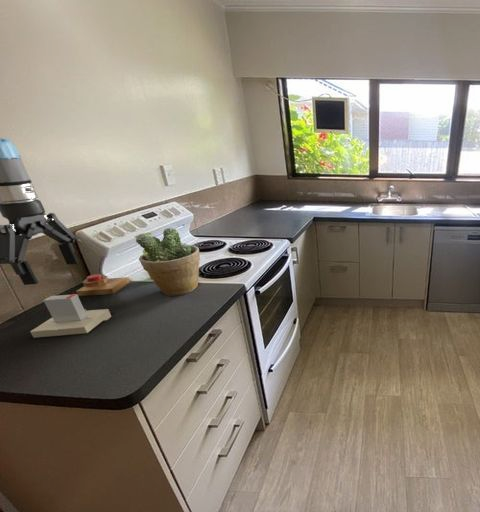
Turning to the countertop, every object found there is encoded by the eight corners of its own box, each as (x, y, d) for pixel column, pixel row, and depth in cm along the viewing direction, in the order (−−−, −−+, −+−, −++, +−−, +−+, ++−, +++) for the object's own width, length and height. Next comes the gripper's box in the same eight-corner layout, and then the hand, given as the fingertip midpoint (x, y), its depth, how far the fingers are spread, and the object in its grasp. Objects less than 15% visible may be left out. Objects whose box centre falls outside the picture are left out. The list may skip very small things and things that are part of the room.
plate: (32, 341, 84) (27, 332, 83) (65, 319, 95) (61, 311, 93) (86, 336, 86) (82, 327, 85) (112, 315, 97) (109, 307, 96)
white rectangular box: (54, 322, 88) (42, 299, 85) (62, 318, 90) (50, 295, 87) (81, 320, 89) (70, 297, 86) (87, 316, 91) (76, 293, 88)
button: (85, 282, 111) (83, 278, 110) (93, 278, 115) (91, 274, 114) (97, 281, 111) (95, 277, 111) (104, 277, 115) (103, 273, 114)
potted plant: (170, 279, 121) (152, 222, 112) (216, 277, 123) (202, 221, 114) (140, 302, 105) (116, 237, 95) (194, 299, 106) (175, 235, 97)
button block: (76, 296, 108) (72, 287, 107) (96, 284, 118) (92, 275, 116) (113, 293, 110) (109, 284, 109) (130, 281, 119) (127, 273, 118)
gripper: (-18, 211, 65) (27, 293, 73) (73, 192, 88) (99, 256, 96) (-58, 212, 64) (-8, 295, 72) (45, 193, 87) (74, 257, 95)
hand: (53, 273), depth 84 cm, fingers open, 13 cm apart
